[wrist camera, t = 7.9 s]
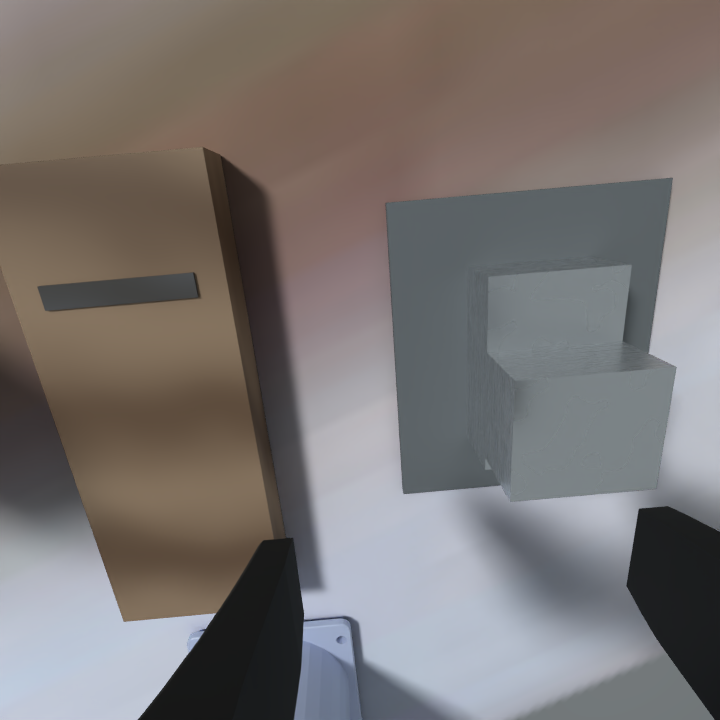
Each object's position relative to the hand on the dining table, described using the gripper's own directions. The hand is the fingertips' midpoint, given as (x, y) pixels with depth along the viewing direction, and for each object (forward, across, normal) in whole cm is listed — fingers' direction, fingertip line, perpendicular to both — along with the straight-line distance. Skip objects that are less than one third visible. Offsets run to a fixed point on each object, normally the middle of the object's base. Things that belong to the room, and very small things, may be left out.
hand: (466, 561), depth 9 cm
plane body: (+9, +9, 0) cm, 13 cm away
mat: (+9, -5, -1) cm, 10 cm away
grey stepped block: (+9, -5, -1) cm, 10 cm away
